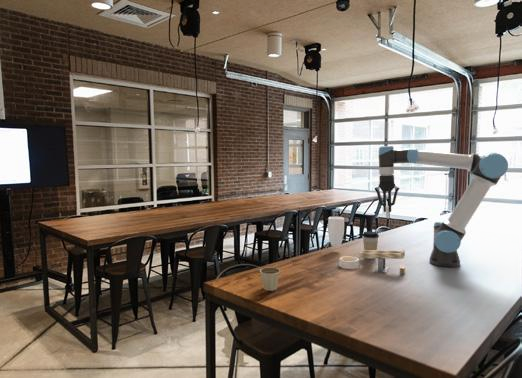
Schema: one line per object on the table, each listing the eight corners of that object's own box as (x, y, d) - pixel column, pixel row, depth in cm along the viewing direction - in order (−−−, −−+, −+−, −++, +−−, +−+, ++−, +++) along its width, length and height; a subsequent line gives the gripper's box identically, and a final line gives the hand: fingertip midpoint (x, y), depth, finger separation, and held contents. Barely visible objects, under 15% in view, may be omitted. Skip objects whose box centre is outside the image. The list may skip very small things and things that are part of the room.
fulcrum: (405, 270, 190) (406, 256, 189) (403, 276, 180) (403, 261, 180) (377, 266, 197) (377, 253, 196) (373, 272, 187) (373, 258, 186)
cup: (326, 252, 225) (326, 218, 224) (329, 248, 235) (329, 216, 233) (342, 254, 222) (343, 219, 220) (345, 250, 231) (345, 216, 229)
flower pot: (274, 294, 160) (273, 275, 159) (256, 290, 165) (255, 271, 164) (284, 287, 168) (284, 269, 167) (266, 283, 173) (266, 266, 172)
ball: (344, 257, 201) (344, 263, 201) (343, 258, 198) (342, 265, 198) (351, 258, 199) (350, 264, 200) (349, 259, 196) (349, 266, 197)
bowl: (360, 264, 201) (360, 257, 200) (356, 269, 192) (356, 262, 191) (342, 262, 205) (342, 255, 205) (337, 267, 196) (337, 260, 196)
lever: (406, 252, 194) (405, 246, 193) (403, 258, 182) (402, 252, 182) (364, 251, 204) (364, 246, 204) (359, 257, 192) (358, 251, 192)
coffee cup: (379, 260, 208) (379, 234, 207) (362, 259, 210) (362, 234, 209) (377, 255, 217) (377, 231, 216) (361, 255, 219) (361, 230, 218)
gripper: (400, 174, 197) (401, 217, 199) (375, 174, 203) (376, 216, 205) (398, 174, 190) (399, 219, 192) (373, 175, 196) (374, 218, 198)
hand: (387, 217), depth 198 cm, fingers closed
